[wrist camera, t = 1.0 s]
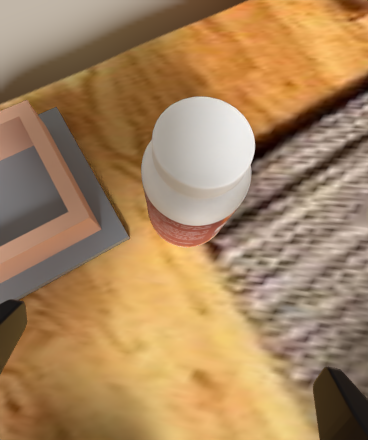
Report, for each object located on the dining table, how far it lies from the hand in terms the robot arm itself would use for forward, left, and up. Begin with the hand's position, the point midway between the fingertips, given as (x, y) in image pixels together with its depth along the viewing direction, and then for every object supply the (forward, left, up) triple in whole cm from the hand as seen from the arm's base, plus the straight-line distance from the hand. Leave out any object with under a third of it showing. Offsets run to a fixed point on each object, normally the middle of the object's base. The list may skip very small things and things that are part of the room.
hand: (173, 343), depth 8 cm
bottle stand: (+2, +14, -13) cm, 19 cm away
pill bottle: (+8, +2, -13) cm, 16 cm away
